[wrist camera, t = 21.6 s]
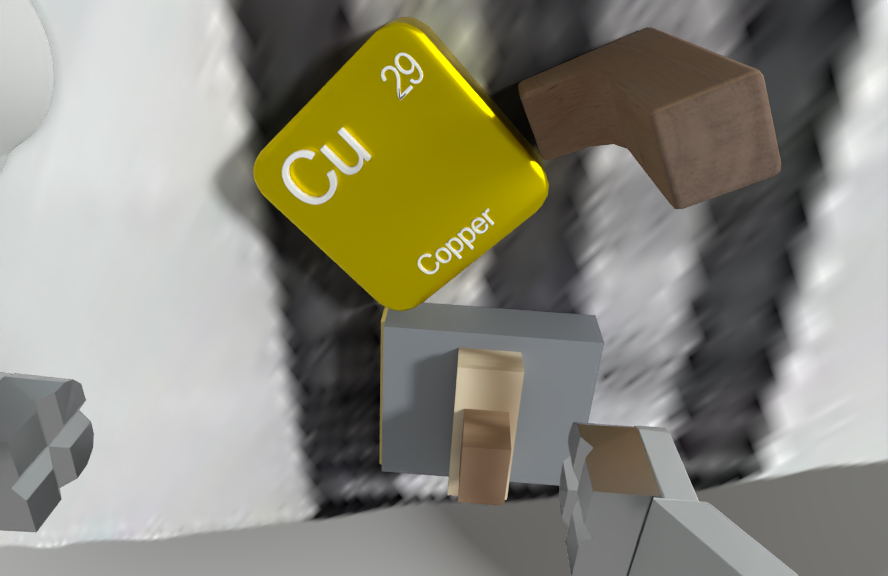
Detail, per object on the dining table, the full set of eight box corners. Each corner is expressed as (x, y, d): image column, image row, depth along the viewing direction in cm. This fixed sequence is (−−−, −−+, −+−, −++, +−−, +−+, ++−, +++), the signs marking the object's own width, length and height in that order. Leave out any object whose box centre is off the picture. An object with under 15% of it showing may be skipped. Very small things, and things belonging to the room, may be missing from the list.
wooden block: (538, 145, 43) (571, 252, 27) (515, 82, 42) (536, 158, 26) (669, 92, 41) (787, 175, 25) (651, 24, 40) (765, 67, 24)
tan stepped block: (449, 467, 52) (447, 494, 49) (459, 344, 46) (457, 367, 44) (505, 471, 52) (506, 499, 49) (521, 348, 46) (524, 372, 44)
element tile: (404, 295, 50) (397, 327, 46) (258, 156, 45) (235, 177, 41) (556, 172, 45) (563, 194, 40) (408, 1, 40) (399, 6, 36)
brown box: (459, 461, 48) (457, 501, 44) (464, 408, 45) (462, 446, 42) (502, 464, 48) (503, 505, 44) (509, 412, 45) (511, 450, 42)
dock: (384, 438, 56) (378, 470, 53) (386, 300, 50) (379, 326, 46) (569, 453, 56) (574, 486, 52) (595, 315, 49) (604, 343, 46)
